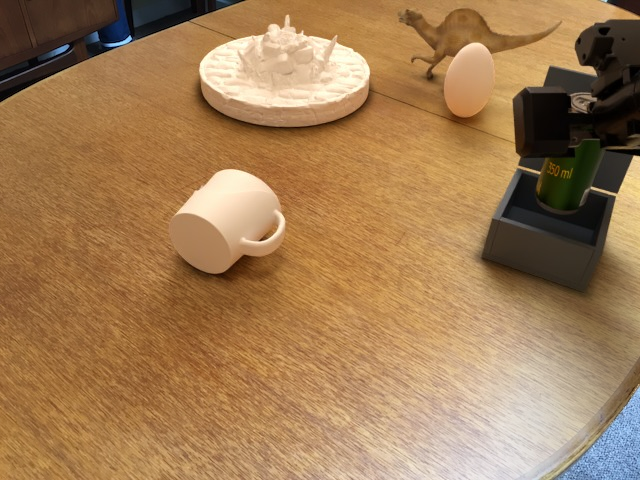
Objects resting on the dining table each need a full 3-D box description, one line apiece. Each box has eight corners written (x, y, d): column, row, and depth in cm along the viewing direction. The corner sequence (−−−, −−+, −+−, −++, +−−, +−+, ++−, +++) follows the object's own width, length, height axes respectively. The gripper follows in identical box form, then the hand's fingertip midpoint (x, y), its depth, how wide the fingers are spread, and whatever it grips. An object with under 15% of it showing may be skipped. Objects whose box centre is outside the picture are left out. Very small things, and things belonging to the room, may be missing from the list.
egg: (433, 120, 93) (446, 47, 86) (444, 100, 99) (458, 30, 91) (480, 131, 91) (498, 57, 84) (489, 110, 97) (507, 39, 89)
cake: (182, 120, 90) (174, 60, 84) (220, 47, 112) (216, -6, 105) (366, 134, 89) (372, 74, 83) (369, 57, 111) (374, 5, 104)
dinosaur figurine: (391, 66, 108) (401, -10, 100) (541, 89, 103) (565, 11, 95) (383, 84, 102) (392, 5, 94) (541, 109, 97) (566, 28, 89)
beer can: (586, 196, 68) (624, 99, 60) (578, 222, 64) (618, 121, 56) (538, 183, 69) (569, 87, 62) (528, 206, 66) (559, 107, 58)
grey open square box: (584, 292, 65) (602, 253, 62) (480, 257, 69) (492, 218, 65) (599, 234, 73) (616, 196, 69) (506, 205, 77) (517, 167, 73)
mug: (167, 258, 67) (157, 201, 62) (213, 213, 74) (207, 158, 68) (260, 293, 63) (257, 236, 58) (300, 242, 70) (301, 187, 65)
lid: (661, 91, 63) (661, 89, 63) (549, 66, 66) (550, 64, 67) (617, 194, 69) (617, 192, 69) (517, 165, 73) (518, 163, 73)
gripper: (765, 0, 50) (647, 71, 65) (549, -2, 48) (481, 71, 63) (779, 132, 49) (656, 171, 64) (558, 134, 47) (487, 174, 62)
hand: (570, 144), depth 64 cm, fingers closed on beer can, 5 cm apart
